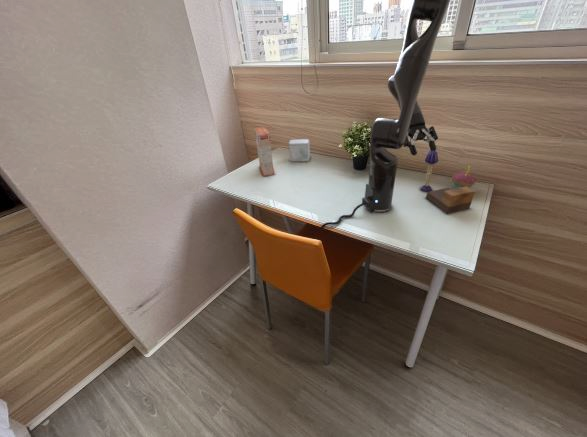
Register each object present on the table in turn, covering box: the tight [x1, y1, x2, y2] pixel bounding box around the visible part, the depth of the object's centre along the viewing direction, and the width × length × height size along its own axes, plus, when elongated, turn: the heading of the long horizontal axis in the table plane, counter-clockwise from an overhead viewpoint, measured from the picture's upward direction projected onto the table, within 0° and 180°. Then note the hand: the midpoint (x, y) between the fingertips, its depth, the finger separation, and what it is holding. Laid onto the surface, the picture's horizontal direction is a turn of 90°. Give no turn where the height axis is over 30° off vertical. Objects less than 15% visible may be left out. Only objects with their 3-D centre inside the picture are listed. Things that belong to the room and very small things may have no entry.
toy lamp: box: [420, 150, 439, 193], centre depth 109 cm, size 5×5×17 cm
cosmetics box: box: [288, 138, 311, 162], centre depth 148 cm, size 10×6×10 cm, turn 80°
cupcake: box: [451, 164, 477, 189], centre depth 108 cm, size 9×8×12 cm
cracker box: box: [253, 126, 275, 177], centre depth 137 cm, size 14×6×21 cm, turn 13°
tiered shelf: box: [425, 186, 476, 215], centre depth 102 cm, size 10×12×8 cm
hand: (424, 153), depth 109 cm, fingers open, 8 cm apart
